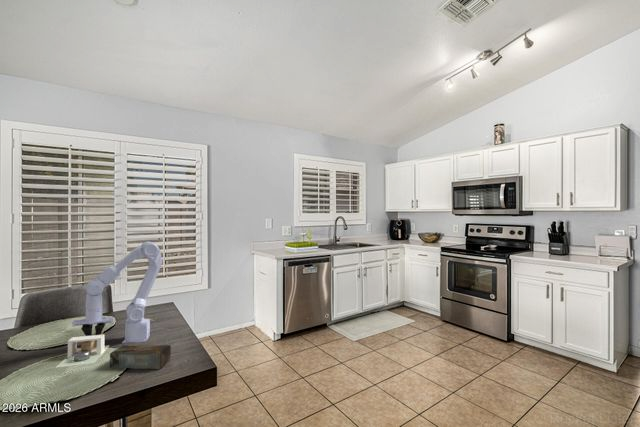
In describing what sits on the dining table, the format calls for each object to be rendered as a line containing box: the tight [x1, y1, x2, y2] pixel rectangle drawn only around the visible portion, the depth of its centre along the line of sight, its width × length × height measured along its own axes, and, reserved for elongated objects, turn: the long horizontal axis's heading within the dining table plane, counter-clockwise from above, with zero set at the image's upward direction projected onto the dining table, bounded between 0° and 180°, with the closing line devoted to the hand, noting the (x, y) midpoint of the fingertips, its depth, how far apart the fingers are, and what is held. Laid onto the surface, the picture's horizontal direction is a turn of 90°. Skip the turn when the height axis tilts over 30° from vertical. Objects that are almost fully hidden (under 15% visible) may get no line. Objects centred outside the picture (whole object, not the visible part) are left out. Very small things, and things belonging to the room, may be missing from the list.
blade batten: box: [80, 329, 104, 352], centre depth 129 cm, size 2×16×5 cm, turn 17°
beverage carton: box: [108, 344, 172, 370], centre depth 117 cm, size 8×19×7 cm, turn 90°
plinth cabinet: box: [67, 333, 106, 358], centre depth 124 cm, size 11×4×7 cm, turn 107°
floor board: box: [54, 344, 111, 368], centre depth 122 cm, size 12×17×1 cm
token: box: [74, 350, 90, 362], centre depth 119 cm, size 5×5×2 cm
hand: (93, 341), depth 130 cm, fingers closed on blade batten, 2 cm apart
